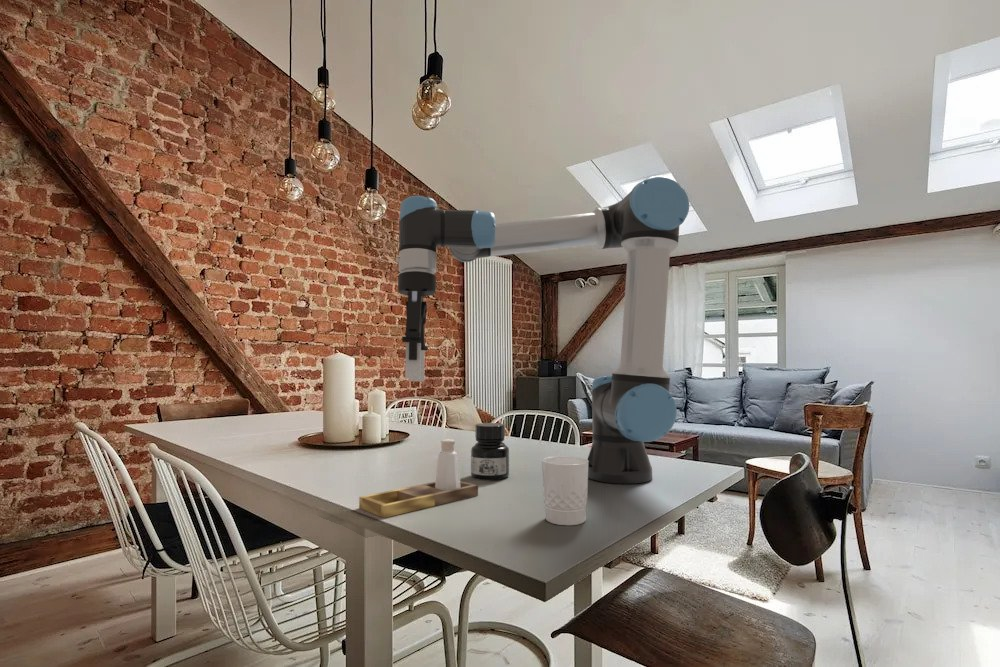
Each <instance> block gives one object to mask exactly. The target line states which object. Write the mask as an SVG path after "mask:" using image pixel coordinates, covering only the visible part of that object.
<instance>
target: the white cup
mask: <svg viewBox="0 0 1000 667" xmlns="http://www.w3.org/2000/svg"><path fill="white" fill-rule="evenodd" d="M587 459H588V458H584V457H580V456H579V457H578V456H572V455H571V456H570V455H556V456H555V455H554V456H547V457H544V458H542V460H541V466H542V467H541V470H542V486H543V499H544V500H543V502H544V506H545V507H544V508H545V520H546V521H547V522H549V523H551V524H554V525H558V526H577V525H581V524H584V523H585V522H586V520H587V504H588V493H589V492H588V490H589V478H588V466H589V461H588V460H587Z"/></svg>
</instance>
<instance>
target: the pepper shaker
mask: <svg viewBox="0 0 1000 667" xmlns="http://www.w3.org/2000/svg"><path fill="white" fill-rule="evenodd" d="M440 443H441V444H440V445H441V447H440V448H441V451H440V452H438V457H437V466H436V474H435V482H436V483H435V488H437V489H440V490H444V491H447V490H452V489H456V488H461V485H460V481H461V478H460V465H459V456H458V453H457V451H455V448H456V446H455V443H456V441H455V439H452V438H446V439H441V441H440Z"/></svg>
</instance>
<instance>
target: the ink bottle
mask: <svg viewBox="0 0 1000 667" xmlns="http://www.w3.org/2000/svg"><path fill="white" fill-rule="evenodd" d="M505 425H506V424H504V423H499V422H497V423H496V422H482V423H476V424H475V426H474V427H475V434H474V435H475V436H474V437H475V441H476V443H475V444H474V445H473V446H472V447H471V449H470V476H471V478H473V479H476V480H482V481H483V480H485V481H495V480H503V479H506V478H508V477H509V476H510V450H509V447H508V445H506V443H505V442H504V441H505V437H506V436H505V432H506V431H505V428H506V426H505Z"/></svg>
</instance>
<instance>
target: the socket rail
mask: <svg viewBox="0 0 1000 667" xmlns="http://www.w3.org/2000/svg"><path fill="white" fill-rule="evenodd" d="M435 483H436V481H432V482H427V483H422V484H417V485H412V486H407V487H402V488H396V489H393V490H392V489H391V490H386V491H382V492H377V493H372V494H366V495H363V496H359V497H358V500H359V501H358V504H359V505H358V508H359V509H361V510H364V511H366V512H368V513H371V514H374V515H376V516H378V517H381V518H384V519H385V518H389V517H393V516H398V515H402V514H406V513H410V512H415V511H418V510H423V509H427V508H432V507H436V506H439V505H443V504H448V503H452V502H453V503H454V502H457V501H459V500H460V501H461V500H465V499H468V498H472V497H473V498H474V497H477V496H479V485H477V484H474V483H470V482H466V481H463V480H460V485H461V488H456V489H452V490H447V491H444V490H440V489H437V488H435Z"/></svg>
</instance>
